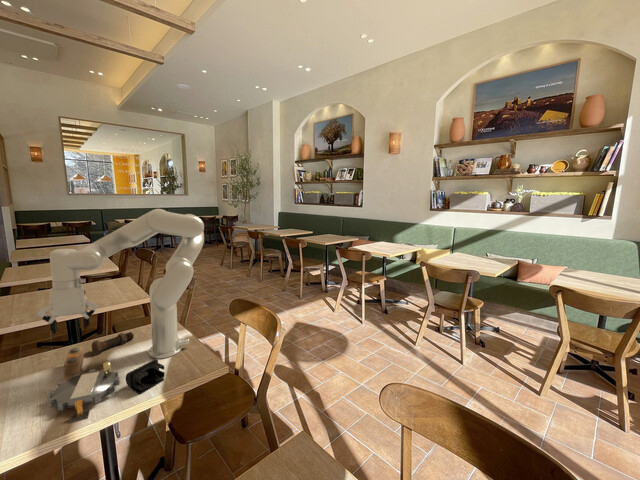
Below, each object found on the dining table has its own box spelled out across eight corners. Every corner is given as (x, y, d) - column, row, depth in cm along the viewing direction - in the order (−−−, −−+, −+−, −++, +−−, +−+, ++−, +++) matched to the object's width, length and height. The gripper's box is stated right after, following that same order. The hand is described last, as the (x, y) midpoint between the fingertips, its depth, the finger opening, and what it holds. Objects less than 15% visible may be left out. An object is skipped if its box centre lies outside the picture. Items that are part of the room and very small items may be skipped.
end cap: (153, 373, 111) (152, 356, 109) (165, 379, 107) (165, 362, 106) (125, 388, 102) (124, 370, 101) (138, 395, 99) (137, 377, 98)
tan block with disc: (83, 361, 116) (82, 345, 115) (79, 377, 106) (78, 360, 105) (70, 364, 114) (68, 348, 113) (65, 381, 104) (63, 364, 103)
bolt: (133, 343, 134) (95, 357, 121) (127, 335, 136) (90, 348, 123) (137, 334, 133) (99, 348, 119) (131, 326, 134) (93, 339, 121)
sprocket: (123, 369, 110) (122, 352, 109) (114, 400, 94) (113, 381, 92) (60, 380, 102) (58, 363, 101) (39, 417, 85) (36, 397, 84)
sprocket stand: (99, 386, 102) (98, 376, 101) (92, 416, 89) (91, 404, 88) (76, 392, 99) (75, 381, 98) (66, 423, 86) (64, 411, 85)
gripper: (98, 278, 112) (101, 321, 115) (37, 283, 104) (42, 330, 107) (95, 284, 106) (99, 329, 109) (29, 290, 97) (35, 339, 100)
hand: (71, 329), depth 108 cm, fingers open, 8 cm apart
